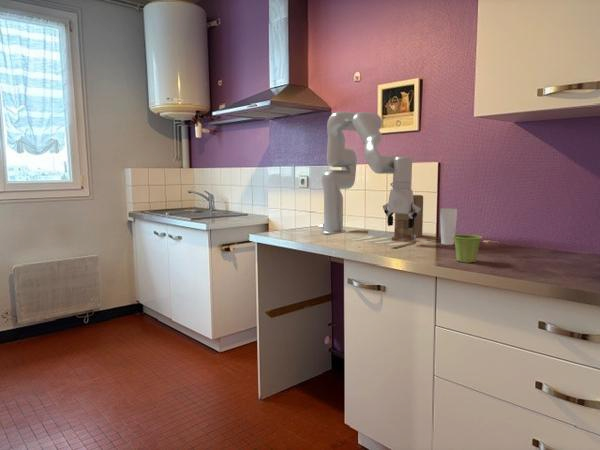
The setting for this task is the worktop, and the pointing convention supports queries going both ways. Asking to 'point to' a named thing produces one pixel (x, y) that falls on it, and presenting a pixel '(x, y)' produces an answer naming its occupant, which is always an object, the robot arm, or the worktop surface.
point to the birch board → (385, 238)
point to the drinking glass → (448, 225)
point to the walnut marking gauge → (401, 231)
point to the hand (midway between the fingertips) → (400, 226)
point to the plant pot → (466, 247)
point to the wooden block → (418, 219)
